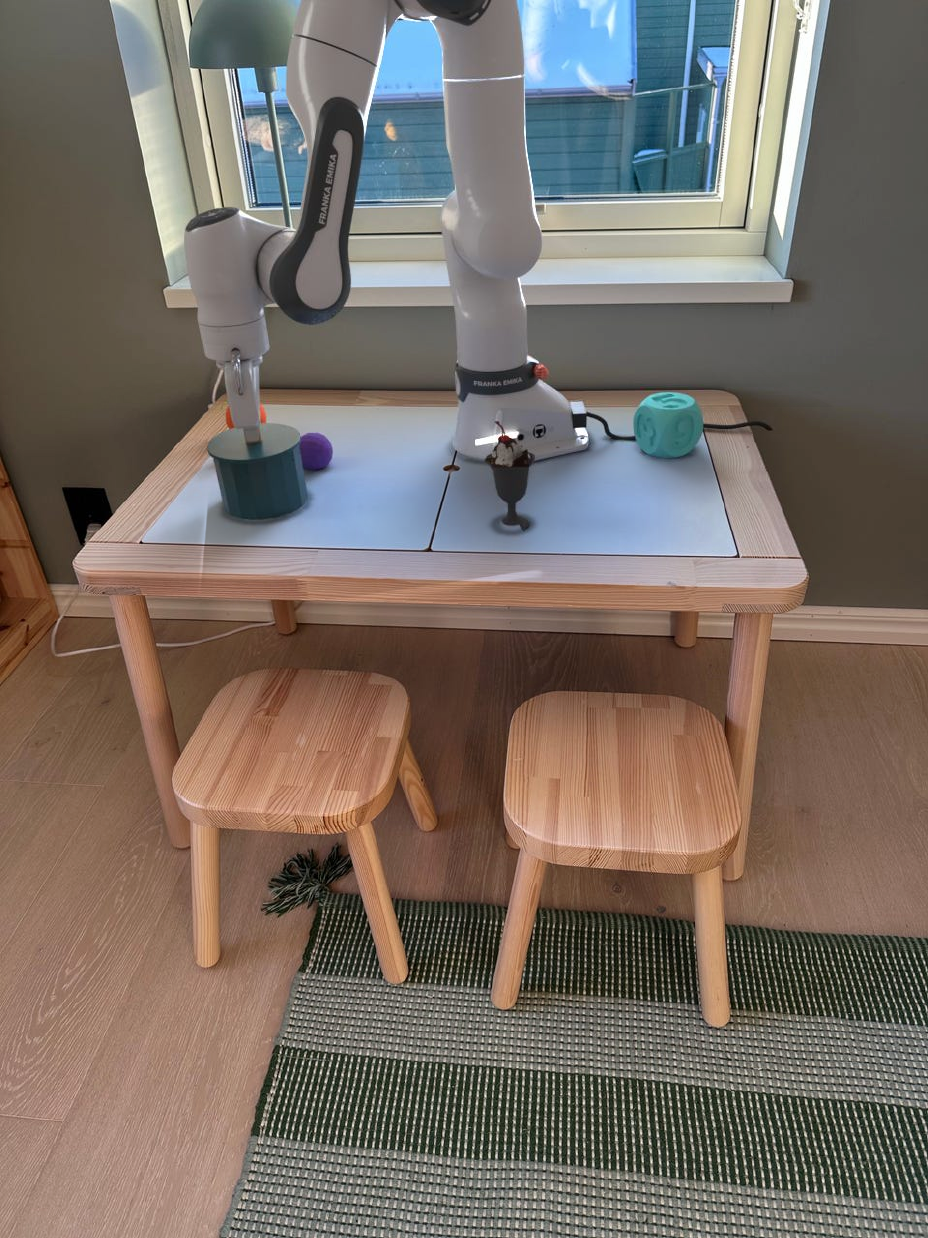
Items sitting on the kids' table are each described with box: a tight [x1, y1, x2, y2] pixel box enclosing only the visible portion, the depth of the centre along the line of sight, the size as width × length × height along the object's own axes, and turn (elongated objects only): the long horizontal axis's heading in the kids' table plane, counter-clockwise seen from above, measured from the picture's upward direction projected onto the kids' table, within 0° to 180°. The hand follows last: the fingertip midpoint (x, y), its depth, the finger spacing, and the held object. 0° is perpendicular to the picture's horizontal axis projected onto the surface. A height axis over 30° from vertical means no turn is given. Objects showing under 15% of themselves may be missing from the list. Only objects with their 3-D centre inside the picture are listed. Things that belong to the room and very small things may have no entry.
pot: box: [212, 445, 308, 521], centre depth 136 cm, size 12×12×10 cm
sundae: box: [484, 421, 535, 531], centre depth 125 cm, size 7×7×15 cm
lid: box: [206, 422, 302, 464], centre depth 132 cm, size 13×13×5 cm
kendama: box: [299, 432, 334, 471], centre depth 149 cm, size 6×6×20 cm
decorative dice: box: [632, 391, 704, 459], centre depth 146 cm, size 8×8×8 cm
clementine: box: [220, 400, 267, 430], centre depth 159 cm, size 8×7×7 cm
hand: (253, 434), depth 132 cm, fingers closed on lid, 2 cm apart
